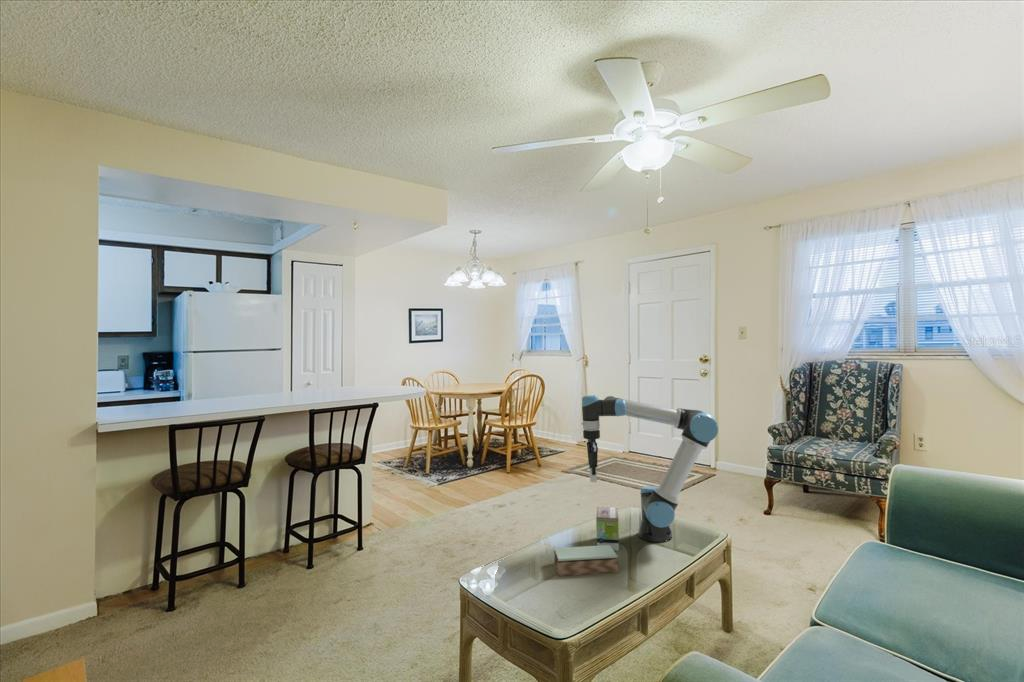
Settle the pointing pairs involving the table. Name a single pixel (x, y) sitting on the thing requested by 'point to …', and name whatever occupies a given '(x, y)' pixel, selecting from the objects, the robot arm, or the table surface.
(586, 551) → the cover
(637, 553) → the table surface
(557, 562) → the tissue box
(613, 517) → the tea box
